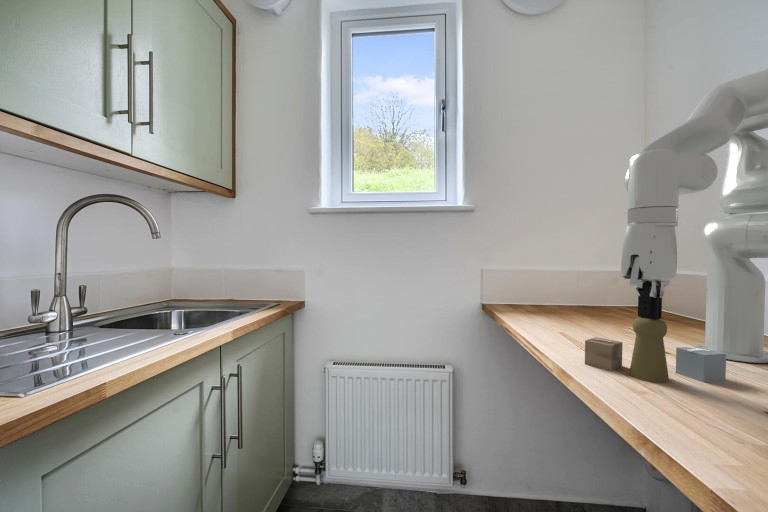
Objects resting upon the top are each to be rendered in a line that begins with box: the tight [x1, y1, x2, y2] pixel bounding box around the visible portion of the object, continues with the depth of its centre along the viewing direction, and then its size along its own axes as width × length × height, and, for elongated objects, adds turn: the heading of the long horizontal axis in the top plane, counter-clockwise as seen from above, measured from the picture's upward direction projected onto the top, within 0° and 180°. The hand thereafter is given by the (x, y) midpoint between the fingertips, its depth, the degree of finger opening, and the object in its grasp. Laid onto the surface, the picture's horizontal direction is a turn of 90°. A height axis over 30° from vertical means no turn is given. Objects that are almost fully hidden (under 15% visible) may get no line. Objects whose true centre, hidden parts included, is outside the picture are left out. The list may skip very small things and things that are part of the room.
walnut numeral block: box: [584, 336, 623, 372], centre depth 74 cm, size 5×5×5 cm
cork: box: [628, 317, 670, 384], centre depth 67 cm, size 6×6×11 cm
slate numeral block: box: [675, 345, 727, 383], centre depth 68 cm, size 5×5×5 cm
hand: (649, 317), depth 67 cm, fingers closed
